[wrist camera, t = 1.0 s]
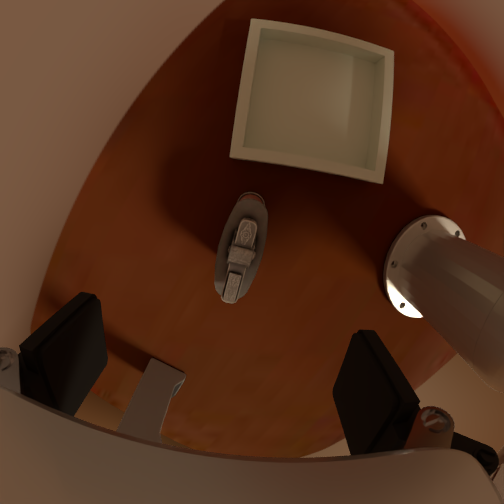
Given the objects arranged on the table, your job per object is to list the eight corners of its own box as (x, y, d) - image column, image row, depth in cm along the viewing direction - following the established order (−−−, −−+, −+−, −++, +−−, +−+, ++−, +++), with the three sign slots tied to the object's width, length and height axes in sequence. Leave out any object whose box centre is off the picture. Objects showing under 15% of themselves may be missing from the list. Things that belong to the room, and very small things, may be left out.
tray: (380, 61, 24) (393, 51, 20) (368, 181, 27) (382, 184, 24) (251, 33, 23) (251, 18, 20) (232, 158, 27) (229, 157, 24)
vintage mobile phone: (177, 389, 35) (129, 555, 11) (144, 373, 34) (75, 532, 10) (187, 373, 34) (138, 553, 10) (152, 355, 33) (75, 528, 9)
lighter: (237, 187, 28) (228, 197, 18) (271, 196, 28) (279, 210, 18) (218, 263, 30) (202, 307, 20) (249, 272, 30) (247, 319, 21)
